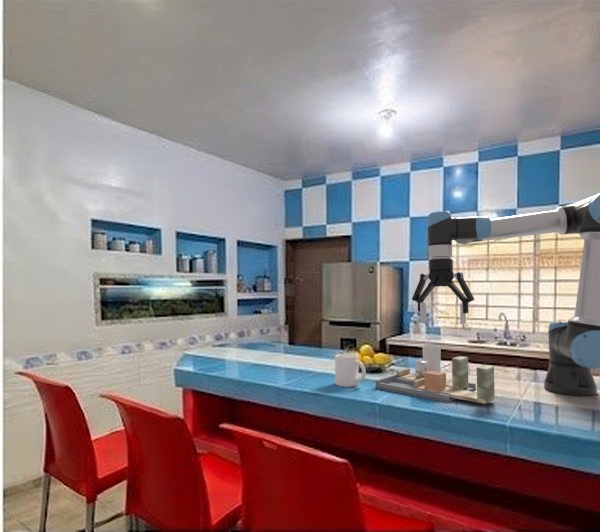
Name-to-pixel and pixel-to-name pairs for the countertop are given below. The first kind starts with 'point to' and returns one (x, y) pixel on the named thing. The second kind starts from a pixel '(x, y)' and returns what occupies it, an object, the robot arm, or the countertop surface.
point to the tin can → (421, 368)
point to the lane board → (407, 388)
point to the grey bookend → (432, 357)
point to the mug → (348, 370)
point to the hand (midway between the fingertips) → (442, 322)
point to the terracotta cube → (435, 380)
